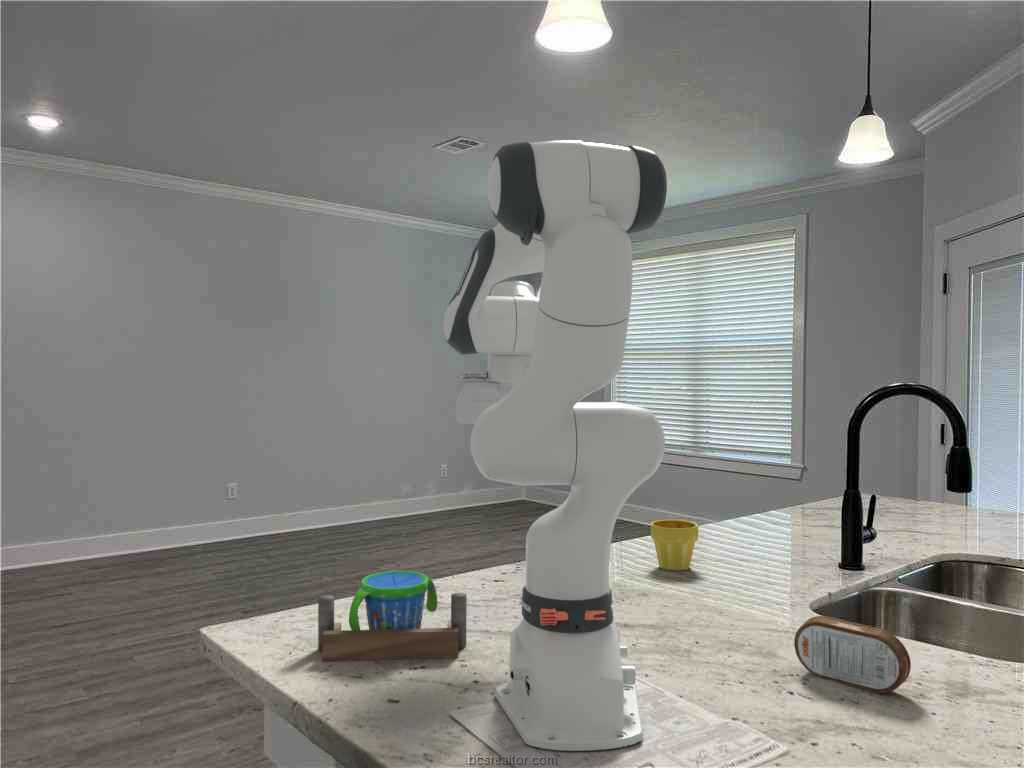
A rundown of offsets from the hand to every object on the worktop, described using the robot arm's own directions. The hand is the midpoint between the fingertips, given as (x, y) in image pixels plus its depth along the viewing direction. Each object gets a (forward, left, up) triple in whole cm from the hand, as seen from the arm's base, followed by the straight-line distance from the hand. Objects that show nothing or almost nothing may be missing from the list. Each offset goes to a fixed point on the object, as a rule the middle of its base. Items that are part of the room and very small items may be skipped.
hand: (511, 448), depth 139 cm
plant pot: (+27, -39, -29) cm, 56 cm away
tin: (-37, -44, -29) cm, 65 cm away
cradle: (-19, +20, -29) cm, 40 cm away
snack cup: (-16, +20, -29) cm, 39 cm away
